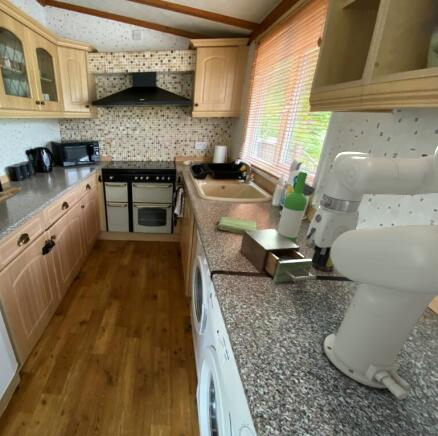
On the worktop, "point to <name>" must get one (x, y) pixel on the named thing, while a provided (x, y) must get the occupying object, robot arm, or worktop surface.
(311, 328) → the worktop surface
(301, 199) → the wine bottle
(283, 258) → the cap
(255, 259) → the cabinet
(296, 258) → the drawer
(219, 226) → the washcloth
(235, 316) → the worktop surface
